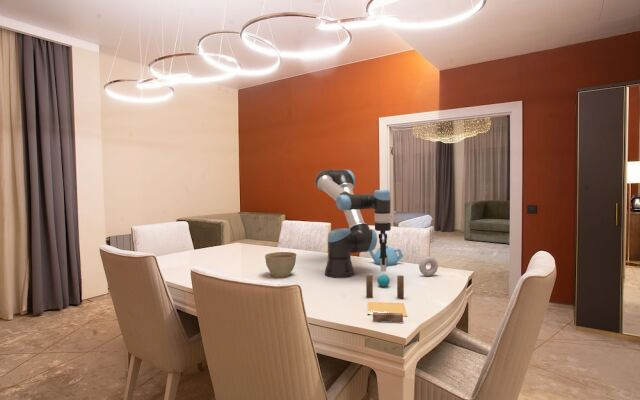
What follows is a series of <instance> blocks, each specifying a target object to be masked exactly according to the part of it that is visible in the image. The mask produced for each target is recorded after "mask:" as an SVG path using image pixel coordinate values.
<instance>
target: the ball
mask: <svg viewBox="0 0 640 400" xmlns="http://www.w3.org/2000/svg"><path fill="white" fill-rule="evenodd" d="M377 277H378V278H377V283H378V284H377V285H379V286H380V287H382V288H385V287H387V286H389V285H390V281H391V280H390V277H389V276H388V275H387V274H383V273H382V274H380V275H379V276H377Z"/></svg>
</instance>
